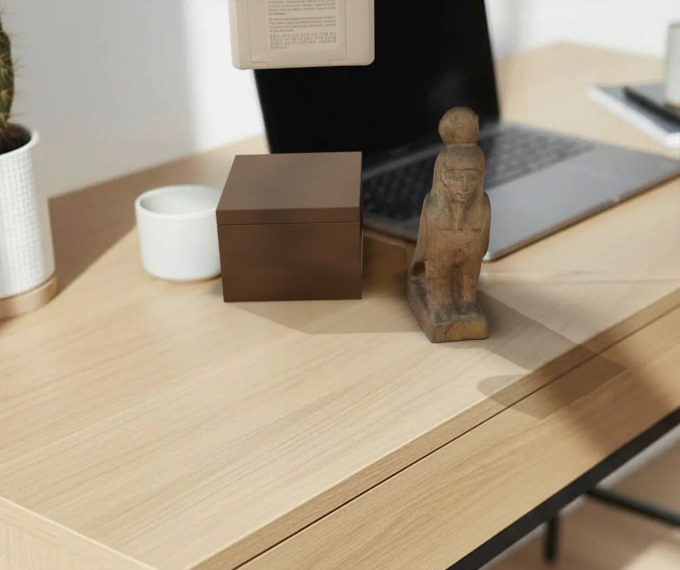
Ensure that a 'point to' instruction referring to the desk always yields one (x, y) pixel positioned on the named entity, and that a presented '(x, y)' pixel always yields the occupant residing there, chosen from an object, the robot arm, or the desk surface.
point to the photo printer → (300, 33)
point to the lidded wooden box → (292, 227)
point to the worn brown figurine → (452, 236)
